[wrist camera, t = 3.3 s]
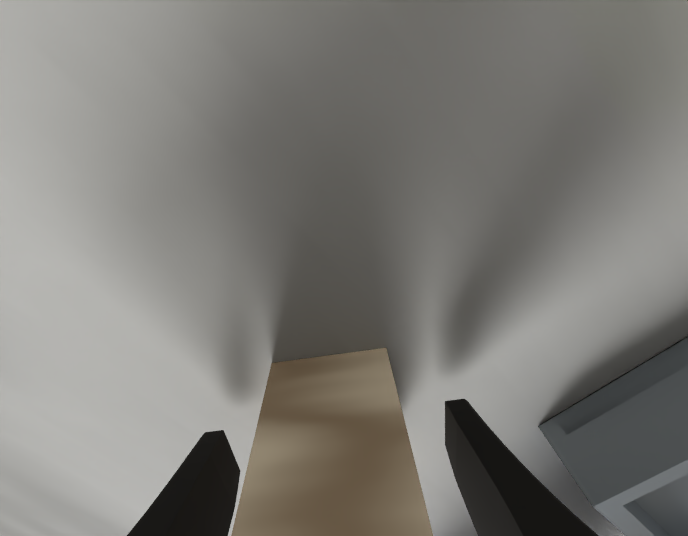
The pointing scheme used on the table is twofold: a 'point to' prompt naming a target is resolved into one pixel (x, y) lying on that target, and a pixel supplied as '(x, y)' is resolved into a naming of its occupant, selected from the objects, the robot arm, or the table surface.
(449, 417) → the robot arm
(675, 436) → the tray
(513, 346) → the table surface
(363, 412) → the block
